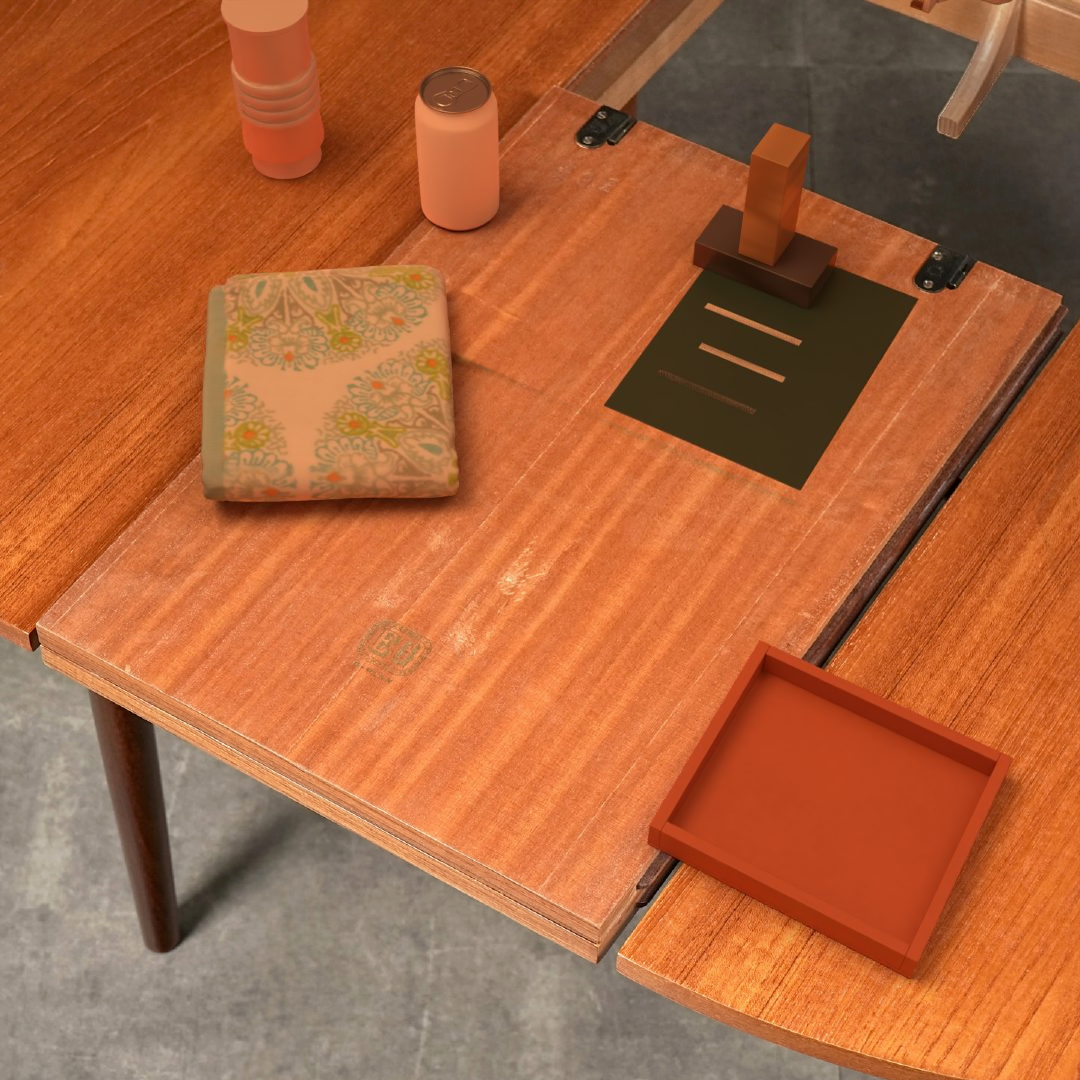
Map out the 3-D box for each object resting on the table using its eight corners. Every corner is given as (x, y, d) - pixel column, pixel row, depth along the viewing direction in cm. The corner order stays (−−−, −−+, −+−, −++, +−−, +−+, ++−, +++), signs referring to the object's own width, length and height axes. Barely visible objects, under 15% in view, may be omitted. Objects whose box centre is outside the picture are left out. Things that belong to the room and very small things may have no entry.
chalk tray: (1005, 776, 108) (1013, 757, 106) (910, 979, 100) (918, 962, 98) (755, 660, 114) (759, 639, 111) (646, 843, 105) (649, 825, 103)
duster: (834, 270, 134) (858, 147, 124) (807, 309, 131) (830, 187, 121) (720, 226, 137) (735, 102, 127) (692, 263, 134) (704, 140, 124)
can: (404, 209, 139) (395, 91, 130) (457, 169, 142) (452, 51, 133) (463, 245, 137) (458, 128, 127) (515, 203, 140) (514, 85, 130)
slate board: (916, 309, 133) (919, 298, 132) (798, 501, 122) (800, 490, 121) (732, 237, 138) (734, 226, 137) (602, 415, 126) (602, 405, 125)
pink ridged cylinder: (300, 117, 146) (280, -33, 134) (342, 162, 143) (325, 11, 131) (230, 148, 144) (203, -3, 132) (271, 194, 140) (247, 44, 128)
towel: (449, 295, 134) (446, 247, 129) (461, 508, 121) (458, 463, 117) (217, 306, 133) (207, 259, 129) (204, 522, 120) (192, 477, 116)
